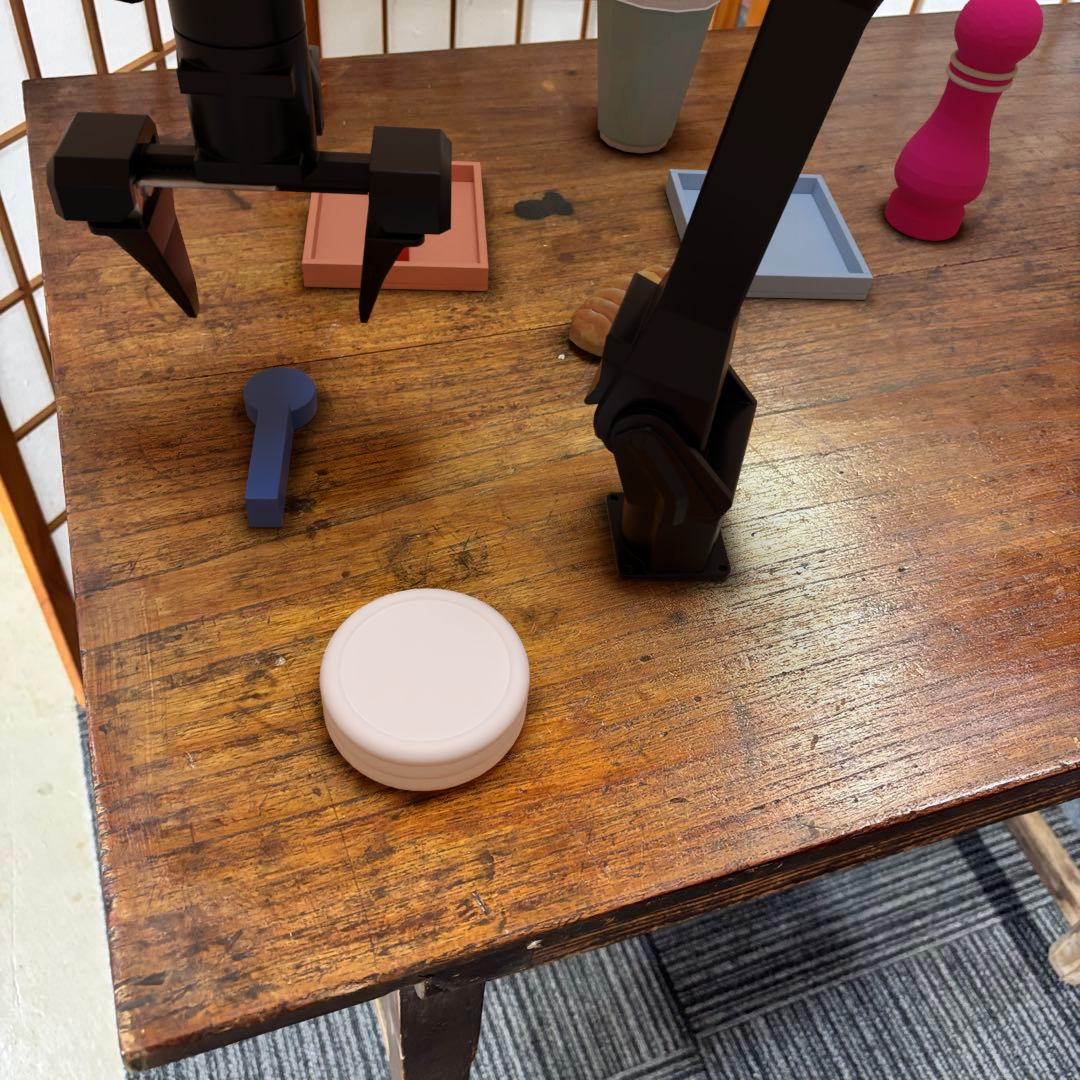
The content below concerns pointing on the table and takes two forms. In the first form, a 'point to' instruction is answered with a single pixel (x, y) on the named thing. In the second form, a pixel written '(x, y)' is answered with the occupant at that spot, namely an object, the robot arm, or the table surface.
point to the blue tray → (793, 242)
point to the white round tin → (424, 688)
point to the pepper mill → (962, 119)
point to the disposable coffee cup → (646, 67)
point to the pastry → (605, 310)
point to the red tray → (431, 265)
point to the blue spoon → (274, 438)
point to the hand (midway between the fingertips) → (280, 316)
